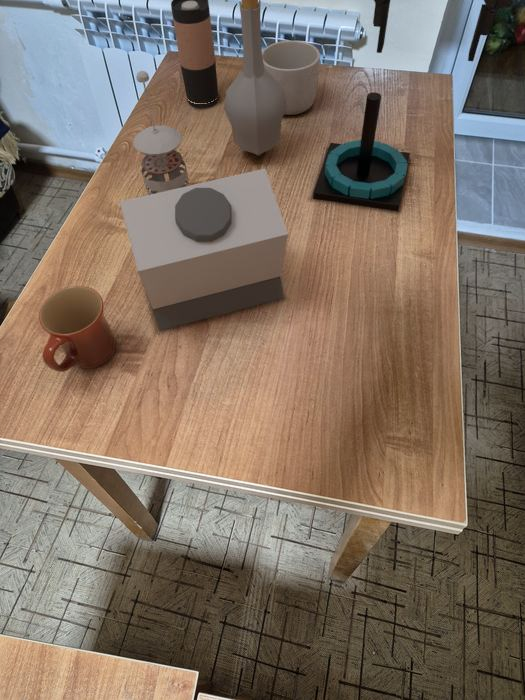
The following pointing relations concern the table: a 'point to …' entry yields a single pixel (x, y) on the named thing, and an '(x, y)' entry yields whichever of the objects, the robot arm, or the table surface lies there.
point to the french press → (160, 154)
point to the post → (362, 166)
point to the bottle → (254, 91)
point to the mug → (76, 329)
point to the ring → (362, 188)
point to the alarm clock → (208, 247)
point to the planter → (294, 72)
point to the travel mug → (196, 50)
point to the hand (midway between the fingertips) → (424, 53)
